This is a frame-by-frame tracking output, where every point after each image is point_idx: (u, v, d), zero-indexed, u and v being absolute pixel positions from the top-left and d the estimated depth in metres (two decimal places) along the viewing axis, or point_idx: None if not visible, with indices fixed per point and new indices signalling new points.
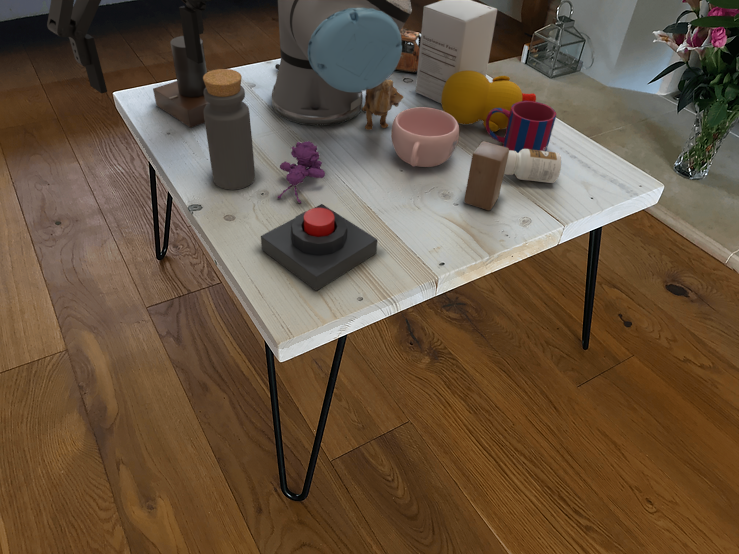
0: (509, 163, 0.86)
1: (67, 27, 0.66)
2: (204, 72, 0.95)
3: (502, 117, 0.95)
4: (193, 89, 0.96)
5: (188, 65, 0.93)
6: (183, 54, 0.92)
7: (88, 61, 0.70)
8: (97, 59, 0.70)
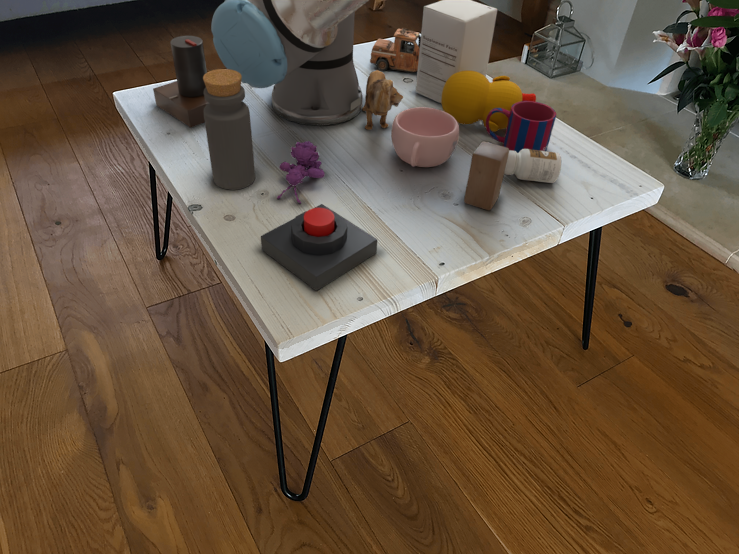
0: (509, 163, 0.86)
1: None
2: (204, 72, 0.95)
3: (502, 117, 0.95)
4: (193, 89, 0.96)
5: (188, 65, 0.93)
6: (183, 54, 0.92)
7: None
8: None
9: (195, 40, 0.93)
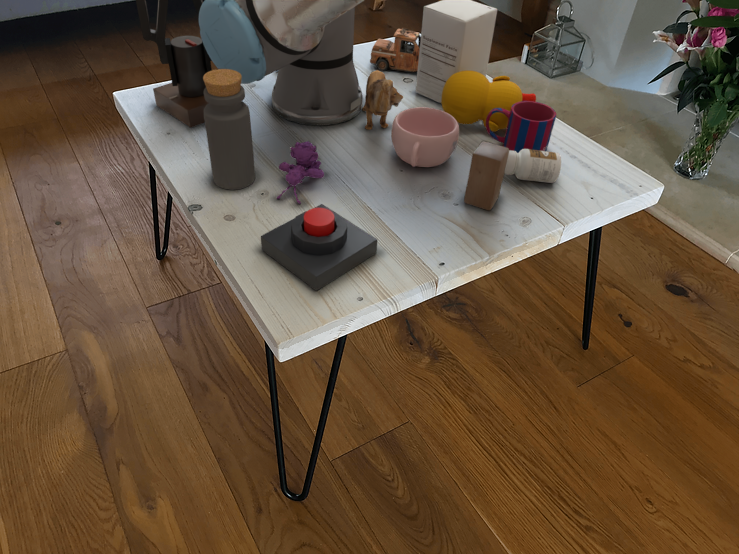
0: (509, 163, 0.86)
1: (149, 32, 0.89)
2: (204, 72, 0.95)
3: (502, 117, 0.95)
4: (193, 89, 0.96)
5: (188, 65, 0.93)
6: (183, 54, 0.92)
7: (166, 61, 0.93)
8: (171, 60, 0.93)
9: (195, 40, 0.93)
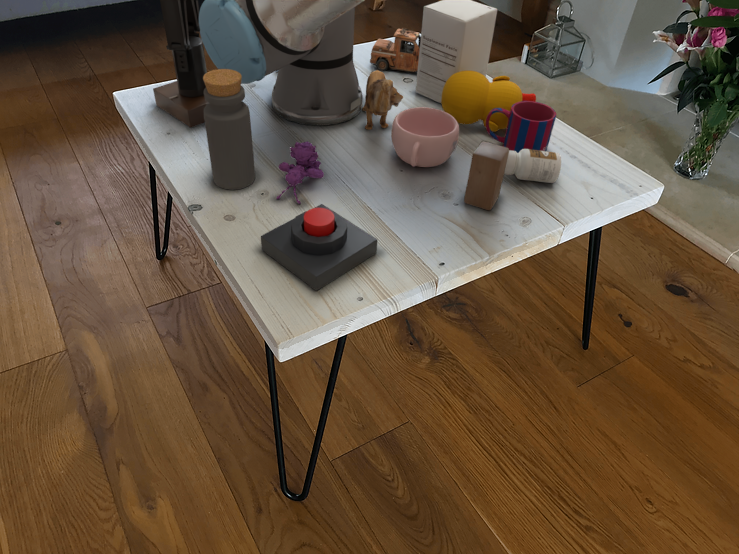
0: (509, 163, 0.86)
1: None
2: None
3: (502, 117, 0.95)
4: None
5: None
6: None
7: None
8: None
9: None
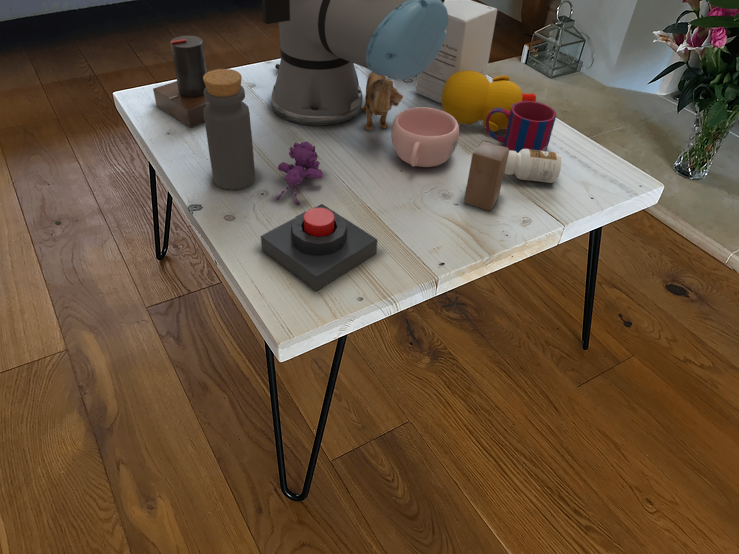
0: (509, 163, 0.86)
1: None
2: (179, 74, 0.94)
3: (502, 117, 0.95)
4: None
5: None
6: None
7: None
8: None
9: (186, 44, 0.92)
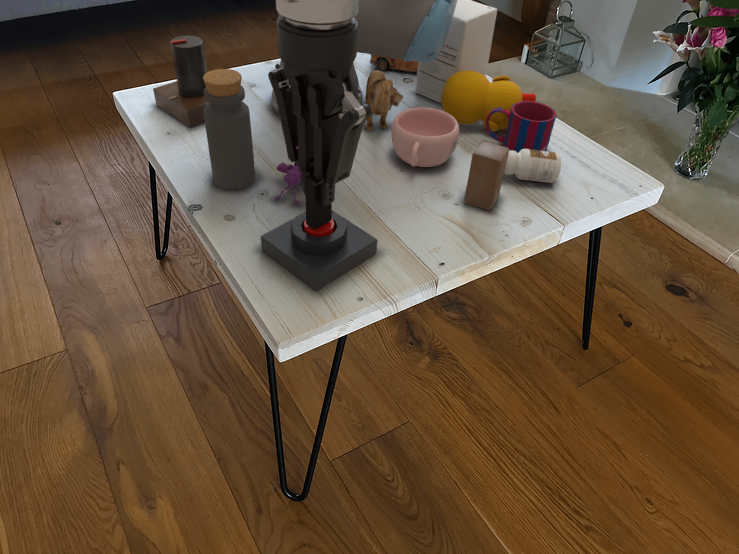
0: (509, 163, 0.86)
1: (292, 153, 0.66)
2: (179, 74, 0.94)
3: (502, 117, 0.95)
4: None
5: None
6: None
7: None
8: (308, 197, 0.68)
9: (186, 44, 0.92)
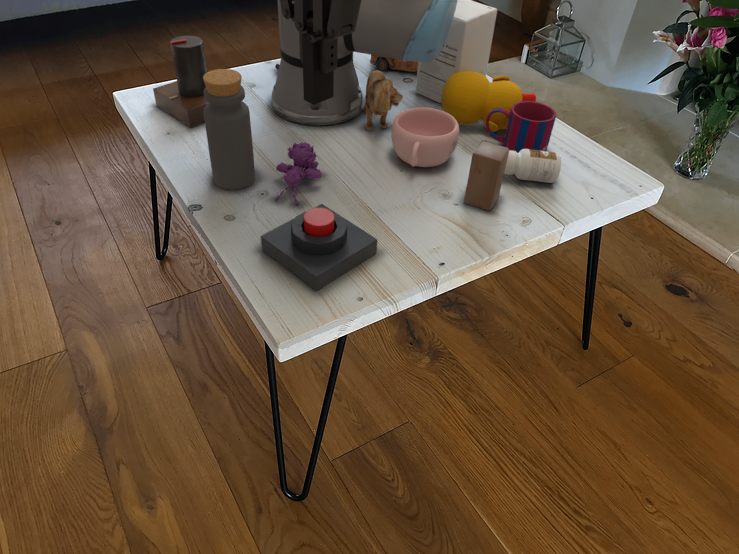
0: (509, 163, 0.86)
1: (287, 6, 0.56)
2: (179, 74, 0.94)
3: (502, 117, 0.95)
4: None
5: None
6: None
7: None
8: (306, 62, 0.58)
9: (186, 44, 0.92)
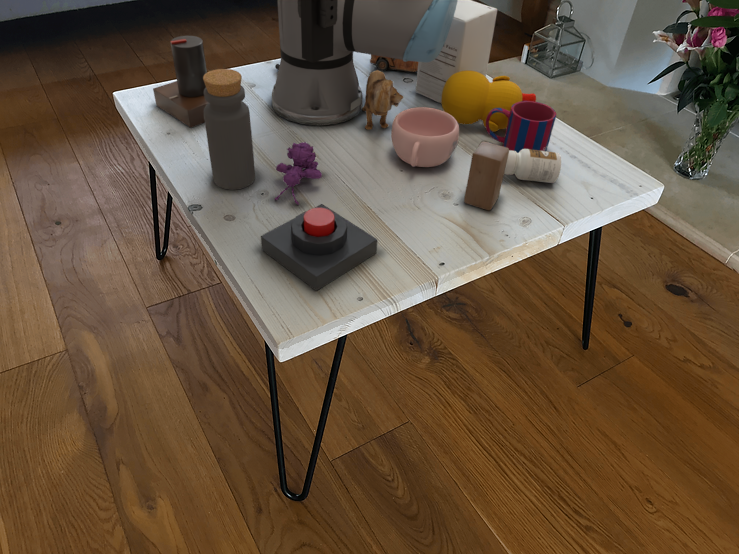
0: (509, 163, 0.86)
1: None
2: (179, 74, 0.94)
3: (502, 117, 0.95)
4: None
5: None
6: None
7: None
8: (304, 16, 0.55)
9: (186, 44, 0.92)
